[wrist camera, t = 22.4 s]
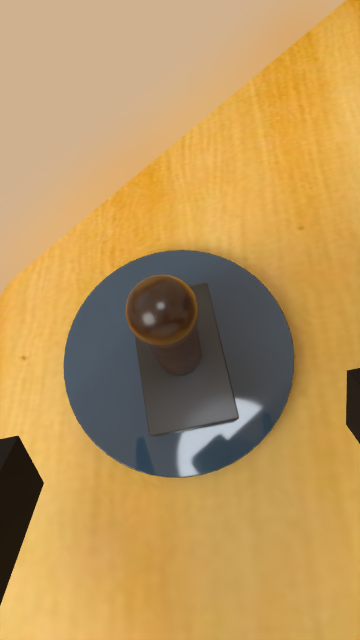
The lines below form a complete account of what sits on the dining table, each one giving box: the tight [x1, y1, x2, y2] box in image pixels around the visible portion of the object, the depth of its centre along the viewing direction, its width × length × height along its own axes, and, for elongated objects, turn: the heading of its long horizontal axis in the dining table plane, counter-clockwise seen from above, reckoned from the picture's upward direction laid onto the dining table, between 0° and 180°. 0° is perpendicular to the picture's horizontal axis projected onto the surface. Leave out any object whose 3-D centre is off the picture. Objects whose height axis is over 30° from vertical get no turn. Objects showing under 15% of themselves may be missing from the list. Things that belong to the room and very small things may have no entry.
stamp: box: [125, 275, 239, 436], centre depth 20 cm, size 10×6×13 cm, turn 11°
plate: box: [64, 250, 294, 478], centre depth 27 cm, size 18×18×1 cm
